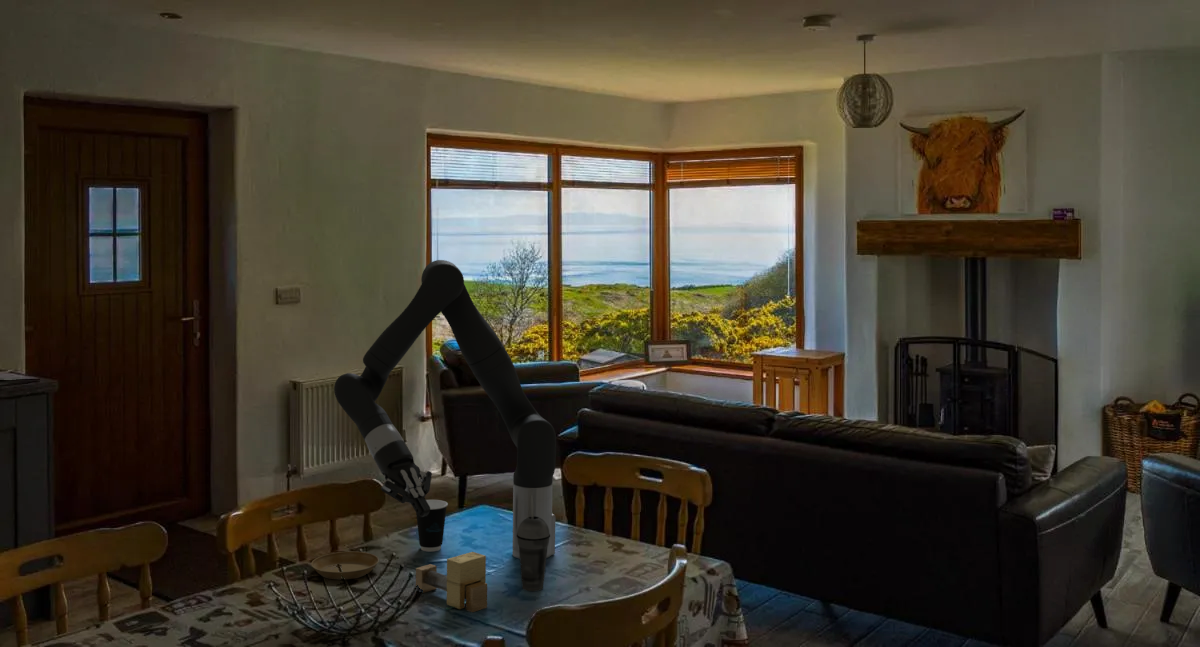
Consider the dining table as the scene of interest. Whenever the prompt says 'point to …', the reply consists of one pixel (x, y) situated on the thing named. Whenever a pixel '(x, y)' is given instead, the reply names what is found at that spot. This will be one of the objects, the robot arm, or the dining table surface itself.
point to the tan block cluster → (432, 580)
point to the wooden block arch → (463, 576)
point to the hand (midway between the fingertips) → (425, 514)
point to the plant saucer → (345, 564)
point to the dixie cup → (432, 526)
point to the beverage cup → (533, 551)
